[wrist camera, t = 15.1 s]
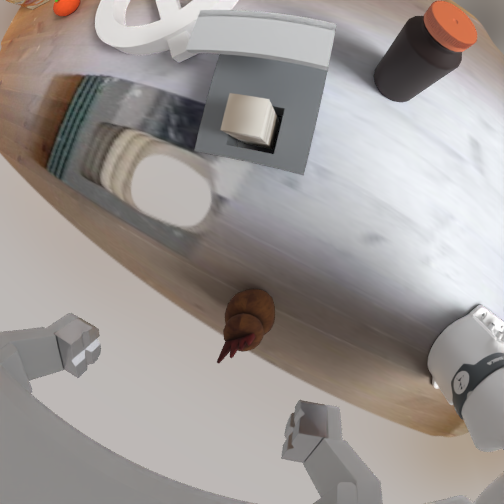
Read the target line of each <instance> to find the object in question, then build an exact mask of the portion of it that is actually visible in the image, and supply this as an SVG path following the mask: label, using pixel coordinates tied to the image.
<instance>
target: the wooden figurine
mask: <svg viewBox="0 0 504 504" xmlns="http://www.w3.org/2000/svg"><path fill="white" fill-rule="evenodd" d="M274 320H275V306H274V302H273V299H272V297H271V296H270V295H269V294H268V293H267V292H265V291H262V290H259V289H249V290H245V291H242V292H239V293H237V294H236V295H235V296H234V297H233V298H232V299H231V300H230V302H229V303H228V306H227V309H226V312H225V323H226V325H225V328H224V331H223V332H224V340H225V341H226V342H225V344H224V346H223V349H222V351H221V354H220V356H219V358H218V361H217V363H220V362H221V361H222V360H223V359H224V357H225V356H226V355H227V354H228V353H229V352H230V358H232V357H233V356H234V354H235V353H236V351H237V350H238V351H248V350H251V349H254V348H255V347H256V346H258V345H259V344H260V342H261V340H262V338H263V336H264V335H265V334H266V333H267V332H269V331H270V330H271V328H272V326H273V324H274Z"/></svg>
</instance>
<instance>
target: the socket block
mask: <svg viewBox="0 0 504 504" xmlns="http://www.w3.org/2000/svg"><path fill="white" fill-rule="evenodd" d="M336 25H337V24H335V23H330V22H326V21H321V20H317V19H312V18H306V17H301V16H294V15H288V14H280V13H272V12H261V11H247V10H200V13H199V15H198V18H197V20H196V23H195V25H194V28H193V31H192V34H191V36H190V39H189V42H188V45H187V48H186V50H187V51H188V52H189V53H207V54H220V55H219V58H218V61H217V65H216V68H215V72H214V75H213V78H212V82H211V86H210V89H209V93H208V97H207V100H206V104H205V108H204V112H203V116H202V120H201V124H200V128H199V132H198V137H197V141H196V145H195V150H194V151H197V152H202V153H206V154H212V155H217V156H222V157H228V158H233V159H237V160H242V161H247V162H252V163H256V164H261V165H265V166H269V167H273V168H278V169H282V170H286V171H290V172H293V173H297V174H301V175H304V171H305V167H306V163H307V159H308V155H309V150H310V146H311V142H312V138H313V133H314V129H315V125H316V120H317V116H318V112H319V107H320V103H321V98H322V94H323V89H324V84H325V80H326V75H327V71H328V66H329V61H330V56H331V51H332V46H333V41H334V36H335V30H336ZM230 93H232V94H240V95H247V96H253V97H259V98H265V99H269V100H270V102H271V104H272V106H273V109H274V111H275V113H276V115H279V116H283V118H282V122H281V127H280V131H279V135H278V139H277V143H276V147H275V152H274V154H270V153H265V152H261V151H256V150H251V149H246V148H241V147H236V146H237V142H238V139H236V138H234V137H232V136H231V135H229V134H227V133H225V132H223V131H221V125H222V121H223V117H224V113H225V109H226V106H227V102H228V98H229V94H230Z"/></svg>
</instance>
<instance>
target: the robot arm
mask: <svg viewBox="0 0 504 504" xmlns="http://www.w3.org/2000/svg"><path fill="white" fill-rule="evenodd" d="M98 337H99V329H98V328H96V327H95V326H93V325H91V324H90V323H88V322H86V321H84V320H83V319H81V318H79V317H77V316H76V315H74V314H72V313H69V314H67V315H65V316H64V317H62V318H61V319H59V320H58V321H56V322H55V323H53V324H52V325H50V326H49V327H47V328H44V327H41V328H32V329H23V330H14V331H4V332H0V504H256V503H250V502H245V501H241V500H237V499H233V498H229V497H225V496H221V495H217V494H214V493H211V492H207V491H204V490H201V489H198V488H195V487H192V486H188V485H186V484H183V483H181V482H178V481H175V480H172V479H170V478H168V477H165V476H163V475H160V474H158V473H156V472H153V471H151V470H149V469H147V468H144V467H142V466H140V465H138V464H136V463H134V462H132V461H130V460H128V459H126V458H124V457H122V456H120V455H118V454H116V453H115V452H113V451H111V450H109V449H108V448H106V447H104V446H102V445H101V444H99V443H98V442H96V441H94V440H93V439H91V438H89V437H88V436H86V435H85V434H83V433H82V432H80V431H79V430H77V429H76V428H74V427H73V426H71V425H70V424H69V423H67V422H66V421H64V420H63V419H62V418H60V417H59V416H58V415H56V414H55V413H53V412H52V411H51V410H50V409H49V408H47V407H46V406H45V405H44V404H42V403H41V402H40V401H39V400H38V399H36V398H35V397H34V396H33V395H32V394H31V392H32V387H31V385H30V382H29V380H32V379H36V378H39V377H42V376H46V375H49V374H52V373H56V372H59V371H61V370H66V371H68V372H69V373H71V374H72V375H74V376H76V377H77V378H79V377H80V376H81V375H82V374H83V373H84V372H85V371H86V370H87V365H89V364H93V363H94V362H95V361H96V360H97V359H98V357H99V355H100V352H101V345H100V343H99V341H98V339H97V338H98ZM428 369H429V371H430V373H431V374H432V377H433V378H432V384H433V386H434V388H440V390H441V392H442V393H443V395H444V396H445V398H446V399H447V401H448V402H449V404H450V405H454V407H455V410H456V412H457V413H458V415H459V416H460V418H461V419H463V420H464V421H465V424H466V426H467V428H468V430H469V433H470V435H471V437H472V440H473V442H474V444H475V446H476V448H477V449H479V450H481V451H484V452H491V451H496V450H499V449H503V450H504V321H503V320H501V319H500V318H499V317H497V316H496V315H495V314H493V313H492V312H491V311H489V310H488V309H487V308H485V307H484V306H483V305H478V306H477V307H475V308H474V309H473V310H472V311H471V312H470V313H469V314H468V315H466V316H464V317H462V318H460V319H458V320H456V321H455V322H453V323H452V324H451V325H449V326H448V327H447V328H446V329H445V330H444V331H443V332H442V333H441V334H440V335H439V337H438V338H437V339H436V341H435V342H434V344H433V346H432V348H431V350H430V353H429V356H428ZM285 437H286V441H285V443H284V444H283V450H282V457H281V458H282V459H286V460H291V461H297V462H302V463H303V464H304V466H305V468H306V470H307V472H308V474H309V476H310V477H311V479H312V481H313V483H314V485H315V487H316V489H317V491H318V493H319V494H320V496H321V498H320V499H319V500H317V501H316V502H315V503H313V504H383V503H382V492H381V483H380V481H379V479H378V478H377V477H376V476H375V475H374V474H373V472H372V471H371V470H370V469H369V468H368V467H367V465H366V464H365V463H364V462H363V461H362V459H361V458H360V457H359V456H358V455H357V453H356V452H355V451H354V450H353V449H352V447H351V446H350V445H349V444H348V442H347V441H345V440H342V428H341V416H340V408H339V407H337V406H330V405H324V404H318V403H312V402H307V401H302V400H299V401H298V403H297V404H296V406H295V412H294V413H292V414H291V415H290V418H289V420H288V422H287V425H286V429H285ZM425 504H504V472H503V473H502V474H501V475H500V476H499V477H497V478H496V479H495V480H494V481H493V482H492V483H491V484H490V485H489V486H488V487H487V488H486V489H485V490H484V491H483V492H482V493H481V494H480V496H479V497H478V498H477V499H476V501H474V502H473V501H472V500H471V499H469V498H468V497H466V496H463V495H460V496H454V497H451V498H447V499H443V500H439V501H435V502H431V503H425Z"/></svg>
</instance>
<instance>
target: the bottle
mask: <svg viewBox="0 0 504 504" xmlns="http://www.w3.org/2000/svg"><path fill="white" fill-rule="evenodd" d="M476 40H477V32H476V29H475V27H474V25H473V23H472V22H471V20H470V19H469V18H468V17H467V15H466V14H465V13H464V12H462V11H461V10H460V9H459V8H457V7H456V6H454V5H453V4H451V3H448V2H445V1H435V2H433V3H432V4H431V6H430V7H429V8H428V10H427V11H426V13H425V14H424V16H415V17H413V18H410V19H409V20H408V21H407V22H406V24H405V25H404V27H403V28H402V30H401V31H400V33H399V34H398V36H397V37H396V39H395V40H394V42H393V43H392V45H391V46H390V48H389V49H388V51H387V52H386V54H385V55H384V57H383V58H382V60H381V61H380V63H379V64H378V66H377V67H376V69H375V72H374V80H375V84H376V86H377V88H378V89H379V90H380V92H381V93H382V94H383V95H384V96H386V97H387V98H388V99H391V100H393V101H396V102H405V101H409V100H410V99H412V98H413V97H414V96H416V95H417V94H419V93H420V92H422V91H423V90H425V89H426V88H428V87H429V86H430V85H432V84H433V83H435V82H436V81H438V80H439V79H441V78H442V77H444V76H445V75H447V74H448V73H450V72H451V71H453V70H454V69H456V68H457V67H458V66H459V65H460V63H461V60H462V52H463V51H464V50H466V49H467V48H469V47H470V46H472V45H473V44H474V43H475V42H476Z"/></svg>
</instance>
